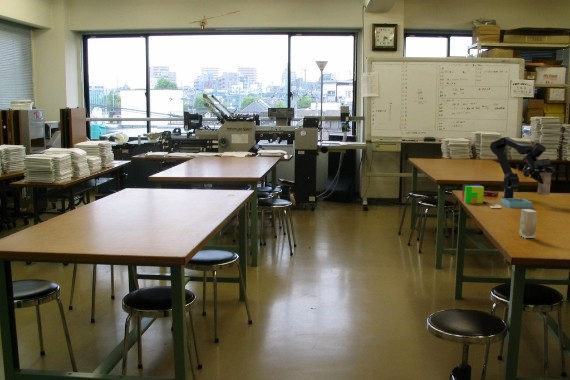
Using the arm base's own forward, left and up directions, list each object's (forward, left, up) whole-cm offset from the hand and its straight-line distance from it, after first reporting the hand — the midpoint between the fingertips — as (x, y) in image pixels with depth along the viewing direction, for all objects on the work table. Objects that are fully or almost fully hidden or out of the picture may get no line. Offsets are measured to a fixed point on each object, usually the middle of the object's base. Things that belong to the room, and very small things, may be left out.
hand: (546, 183), depth 324 cm
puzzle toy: (-12, -38, -14) cm, 42 cm away
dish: (+1, -17, -13) cm, 21 cm away
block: (-1, 0, -7) cm, 7 cm away
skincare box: (+80, -44, -14) cm, 93 cm away
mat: (+1, -17, -13) cm, 22 cm away
